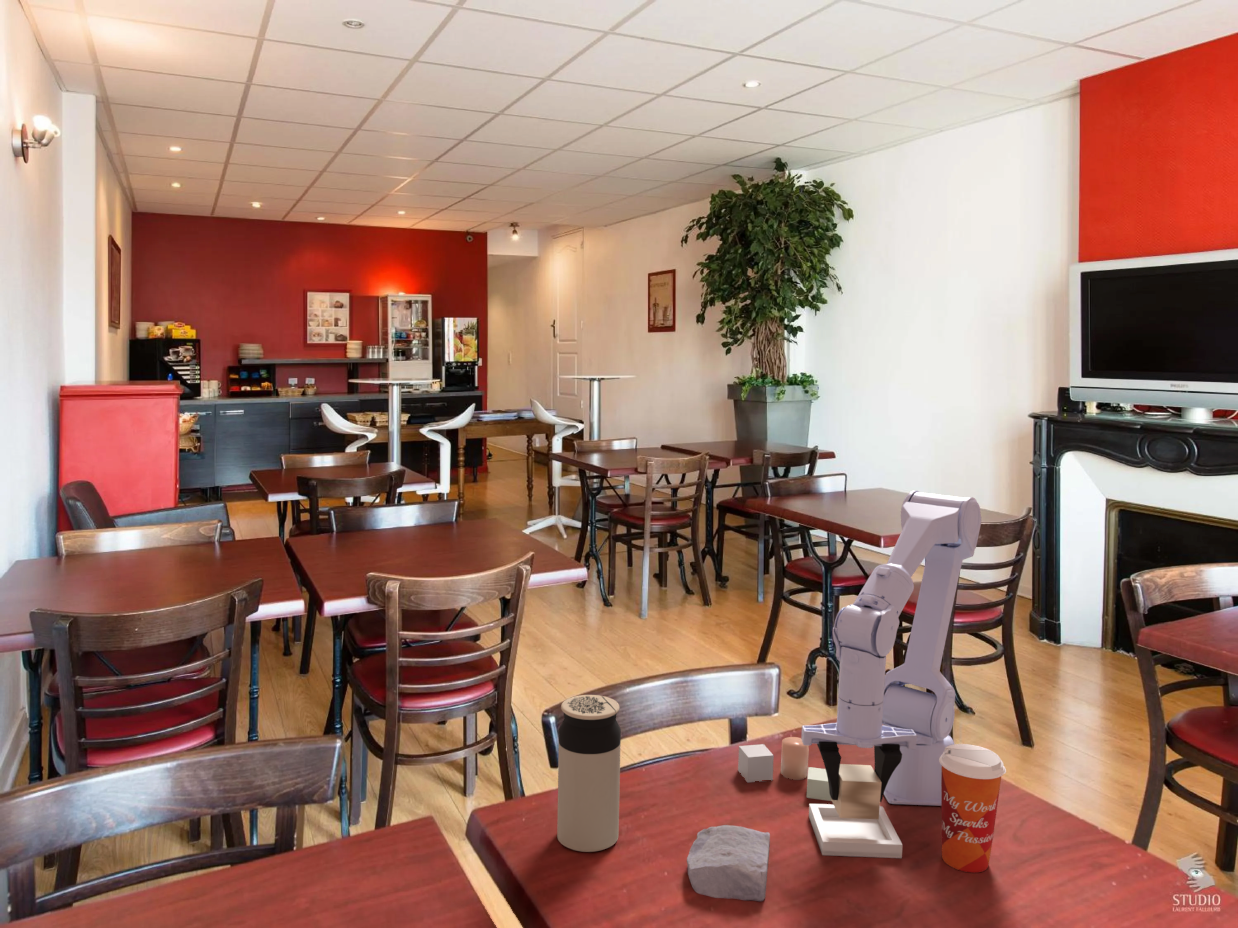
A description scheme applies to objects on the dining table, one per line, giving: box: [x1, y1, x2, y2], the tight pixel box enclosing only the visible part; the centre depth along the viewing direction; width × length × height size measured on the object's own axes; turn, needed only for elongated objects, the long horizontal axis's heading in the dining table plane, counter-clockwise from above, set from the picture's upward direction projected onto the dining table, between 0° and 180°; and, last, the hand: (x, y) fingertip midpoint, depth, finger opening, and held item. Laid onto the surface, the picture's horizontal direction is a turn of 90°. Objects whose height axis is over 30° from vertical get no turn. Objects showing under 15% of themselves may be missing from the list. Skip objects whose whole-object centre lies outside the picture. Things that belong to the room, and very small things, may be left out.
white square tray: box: [808, 803, 903, 859], centre depth 121 cm, size 10×10×2 cm
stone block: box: [686, 824, 771, 902], centre depth 112 cm, size 12×5×10 cm
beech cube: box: [831, 763, 882, 819], centre depth 120 cm, size 5×5×5 cm
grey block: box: [737, 743, 775, 783], centre depth 138 cm, size 4×4×4 cm
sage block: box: [806, 766, 832, 802], centre depth 133 cm, size 4×4×3 cm
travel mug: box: [556, 694, 622, 853], centre depth 118 cm, size 8×8×18 cm
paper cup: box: [939, 743, 1007, 874], centre depth 115 cm, size 8×8×14 cm
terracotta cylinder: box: [780, 736, 810, 781], centre depth 138 cm, size 4×4×5 cm
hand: (855, 797), depth 120 cm, fingers closed on beech cube, 5 cm apart
